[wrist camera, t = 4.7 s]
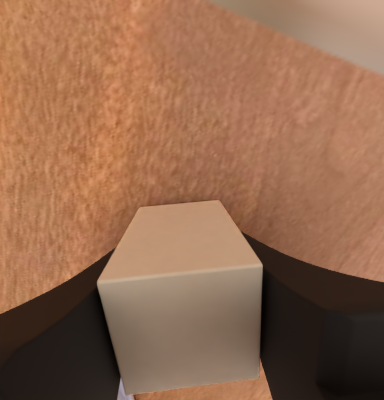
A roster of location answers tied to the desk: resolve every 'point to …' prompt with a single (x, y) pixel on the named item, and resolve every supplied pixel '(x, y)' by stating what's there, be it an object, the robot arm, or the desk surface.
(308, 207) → the desk surface
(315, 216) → the desk surface
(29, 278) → the desk surface
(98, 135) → the desk surface
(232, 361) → the cream block
